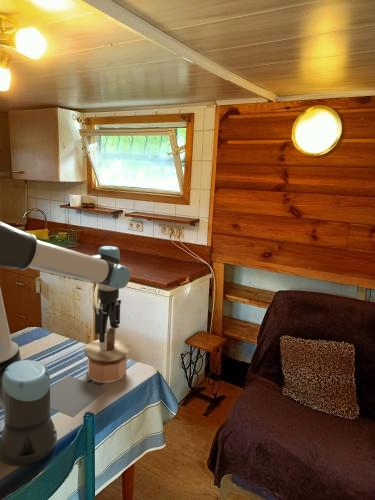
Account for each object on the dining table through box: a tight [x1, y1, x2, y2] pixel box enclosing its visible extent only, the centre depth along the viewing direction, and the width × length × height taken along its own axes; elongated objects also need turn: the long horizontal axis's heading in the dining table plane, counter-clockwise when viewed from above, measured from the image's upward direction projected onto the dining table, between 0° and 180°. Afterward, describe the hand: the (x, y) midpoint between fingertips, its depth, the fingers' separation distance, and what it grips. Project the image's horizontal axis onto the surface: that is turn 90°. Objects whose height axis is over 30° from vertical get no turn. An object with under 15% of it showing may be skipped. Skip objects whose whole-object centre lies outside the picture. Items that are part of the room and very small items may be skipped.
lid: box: [84, 327, 131, 361], centre depth 141 cm, size 17×17×8 cm
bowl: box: [86, 356, 128, 384], centre depth 143 cm, size 14×14×7 cm
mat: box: [50, 375, 108, 418], centre depth 128 cm, size 18×18×1 cm
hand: (107, 346), depth 141 cm, fingers closed on lid, 5 cm apart
